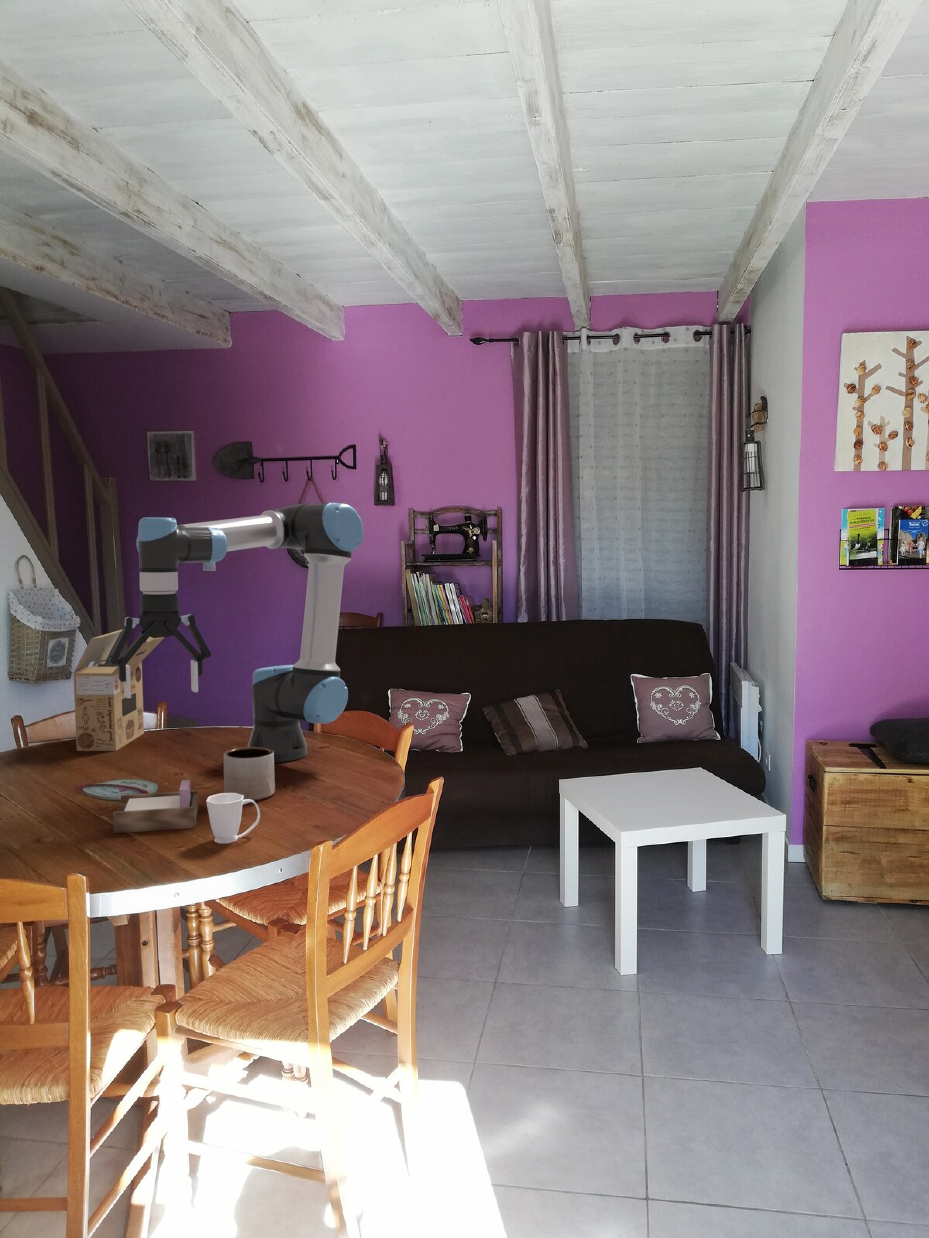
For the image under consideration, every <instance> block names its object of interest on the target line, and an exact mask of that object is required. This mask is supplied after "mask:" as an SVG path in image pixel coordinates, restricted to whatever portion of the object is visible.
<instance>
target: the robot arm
mask: <svg viewBox="0 0 929 1238" xmlns="http://www.w3.org/2000/svg"><path fill="white" fill-rule="evenodd" d="M137 529H138V530H137V537H136V540H135V542H136V543H135V546H136V549H137V552H138V564H139V565H138V567H139V590H140V591H141V592H142V593H141V594H140V595H139V605H140V606H139V607H140V608H139V609H140V614H139V617H138V618H137V617H130V616H125V617H124V619H123V628H122V629H121V630H122V631H121V632H120V634H119V636H118V638H117V640H116V642H115V643H114V645H113V647H112V649H111V650H112V651H110V653H109V655H108V658H107V660H109V662H111V663H112V664H117V665H118V671H119V680H120V681H121V682H124V694H125V697H126V698H131V679H130V666H129V665H126V664H127V663H128V662H129V660H130V659H131V658H132V657H133V655H134V654H135V653H136V652H137V650H138V649H139V648H140V647H141V646H142V644H144V643H146V640H147V639H148V638H149V637H152V638H159V637H160V638H161V637H165V639H166V638H169V637H171V636H172V637H173V638H174V639H176V640H177V641H178V644H179V643H180V645H181V646H182V647H183V648H184V649H185V650H186V652H188V653H189V654H190V655H191V656H192V658H194V659H192V660H190V682H191V683H190V684H191V685H190V690H191V691H192V692H193V693H199V676H200V677H201V676H203V661H204V660H205V659H207V658H210V657H211V656H212V653H211V651H210V649H209V647H208V645H207V643H206V642H205V640H204V638H203V636H202V634H201V632H200V631H199V628H198V626H197V624H196V617H195V615H193V614H192V613H191V614H190V613H188V614H186V615H180V612H179V611H180V610H179V609H180V608H179V594H178V593H177V591H178V590H179V575H178V574H179V572H178V571H179V564H183V563H185V564H186V563H187V564H188V563H189V564H192V563H194V564H195V563H199V564H200V563H208V564H210V563H216V562H217V563H218V562H221V560H223V559H224V558H225V556H226V555H227V552H231V551H240V550H247V549H254V548H261V547H266V548H268V549H269V550H270V549H271V550H274V549H295V550H303V556H304V558H306V560H307V561H308V571H307V572H308V574H307V583H306V593H305V603H304V604H305V605H304V613H303V615H304V616H303V622H302V623H303V625H302V635H301V644H300V656H299V660H298V661H296V662H295V663H294V664H283V665H275V666H267V667H261V668H256V669H255V670H254V671H253V673H252V683H251V691H252V693H251V695H252V717H253V720H252V722H253V726H252V731H251V733H250V737H249V740H248V742H247V743H248V744H247V746H246V747H265V748H269V749H272V750H273V751H274V763H281V762H289V761H294V760H299V759H302V758H304V757H306V756H307V755H308V745H307V742H306V739H305V737H304V733H303V730H302V728H301V722H300V721H303V722H308V723H311V724H324V725H325V724H326V725H327V724H330V723H332V722H334V721H335V720H337V719H338V717H339V716H340V715H341V714H343V712H344V710H345V708H346V707H347V706H346V705H347V703H348V699H349V691H348V687H347V686H346V683H345V681H344V680H343V679H341V678H340V677H341V668H340V667H339V666H338V665H337V663H336V657H337V655H336V654H337V645H338V636H339V635H338V634H339V624H340V615H341V613H340V612H341V601H342V592H343V591H342V590H343V583H344V582H343V581H344V571H345V566H346V565H347V564H348V563H350V562H351V560H352V552H353V551H355V550H356V549H358V548H359V546H360V545H361V544H362V542H363V539H364V525H363V521H362V518H361V516H360V515H359V514H358V511H357V510H356V509H355V508H354V507H353V506H351V505H349V504H346V503H340V502H322V503H321V502H320V503H319V502H318V503H307V502H306V503H299V504H295V505H290V506H286V507H281V508H277V509H270V510H264V511H262V513H261V514H260V515H253V516H245V517H236V518H229V519H218V520H210V521H202V522H194V523H186V524H179V525H178V524H177V520H176V518H175V517H142V518H141V519H140V520H139V521H138V528H137ZM181 623H183V625H185V626H186V627H187V628H188V630H189V632H190V634H191V636H192V638H193V640H194V641H195V643H196V645H197V647H198V649H199V650H200V651H198V650H197V649H196V648H195V647H194V646H193V644H191V642H190V641H188V640H187V638H186V637H185V636H184V634H183V633H182V632H180V630H179V629H178V627H179V626H180V625H181ZM137 625H139V626H140V627H141V629H142V630H141V631H140V633H138V636H137V637H136V638H135V639H134V640H133V641H132V643H131V644H130V645H129V646H128V648H127V649H126V650H125V651H124V652H123V654H121V653H122V651H123V649H124V647H125V646H126V643H127V641H128V639H129V637H130V634H131V633H132V630H133V629H135V628H136V626H137ZM120 656H121V657H120ZM191 691H190V692H191Z"/></svg>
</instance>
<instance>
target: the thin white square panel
mask: <svg viewBox="0 0 929 1238" xmlns="http://www.w3.org/2000/svg"><path fill="white" fill-rule="evenodd" d="M179 786H180V787H179V791H178V792H179V793H180V796H165V797H149V798H133V799H129V801H128V803H127V805H126V808H125V810H124V811H134V810H149V809H164V808H179V807H190V802H191V795H190V791H191V780H190V779H185V780H181V782H180V785H179Z"/></svg>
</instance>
